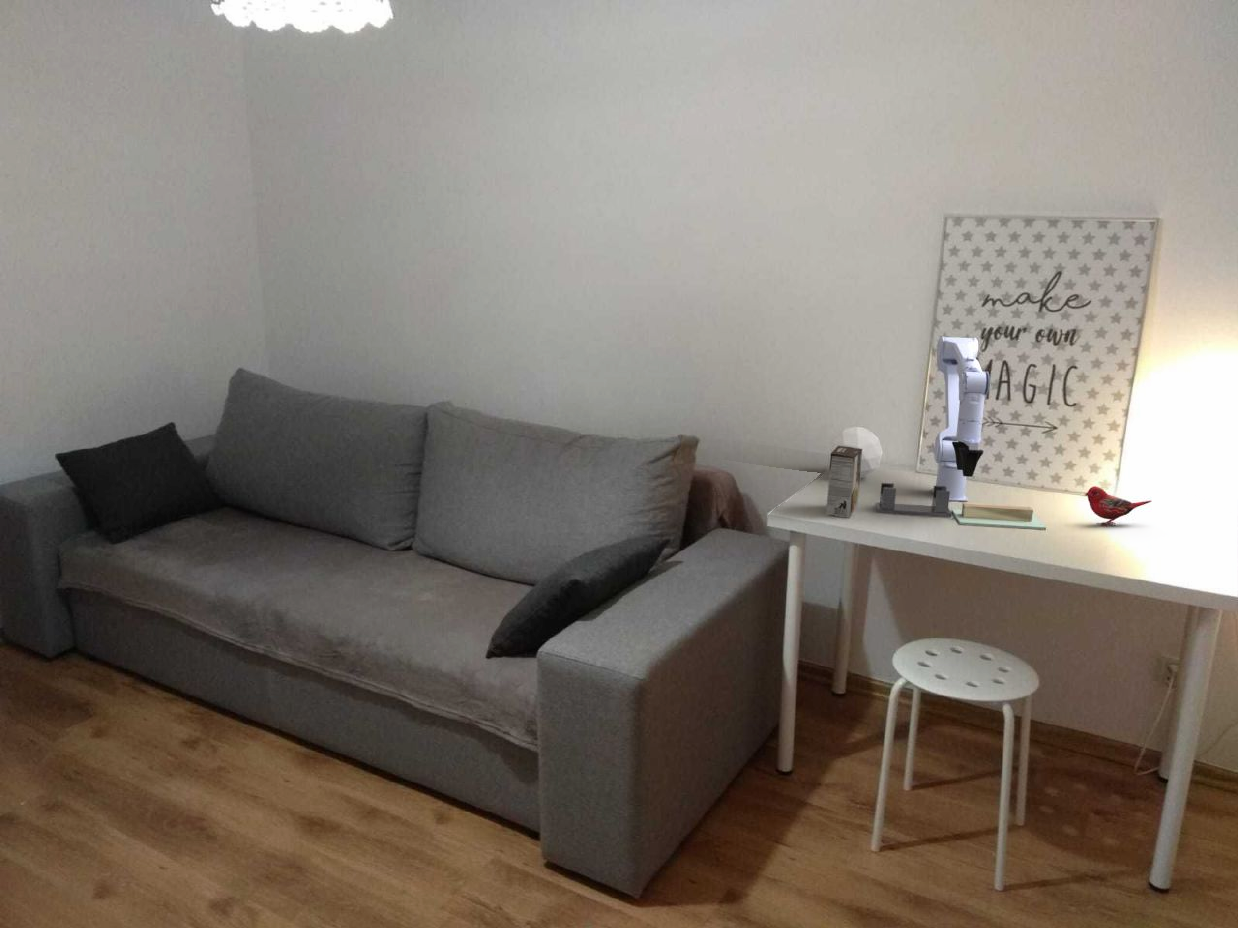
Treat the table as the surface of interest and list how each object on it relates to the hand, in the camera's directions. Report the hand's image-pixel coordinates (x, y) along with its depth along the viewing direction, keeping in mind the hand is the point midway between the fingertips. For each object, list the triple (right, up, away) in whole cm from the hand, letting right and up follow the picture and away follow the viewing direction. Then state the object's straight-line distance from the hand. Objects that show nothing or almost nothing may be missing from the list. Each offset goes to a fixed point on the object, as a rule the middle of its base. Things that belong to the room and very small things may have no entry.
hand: (964, 473), depth 238 cm
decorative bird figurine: (+35, -13, -5) cm, 38 cm away
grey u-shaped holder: (-12, -10, +2) cm, 16 cm away
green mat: (+7, -12, -3) cm, 14 cm away
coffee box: (-31, -10, +1) cm, 32 cm away
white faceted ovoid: (-19, -2, +33) cm, 38 cm away
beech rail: (+7, -11, -3) cm, 13 cm away
